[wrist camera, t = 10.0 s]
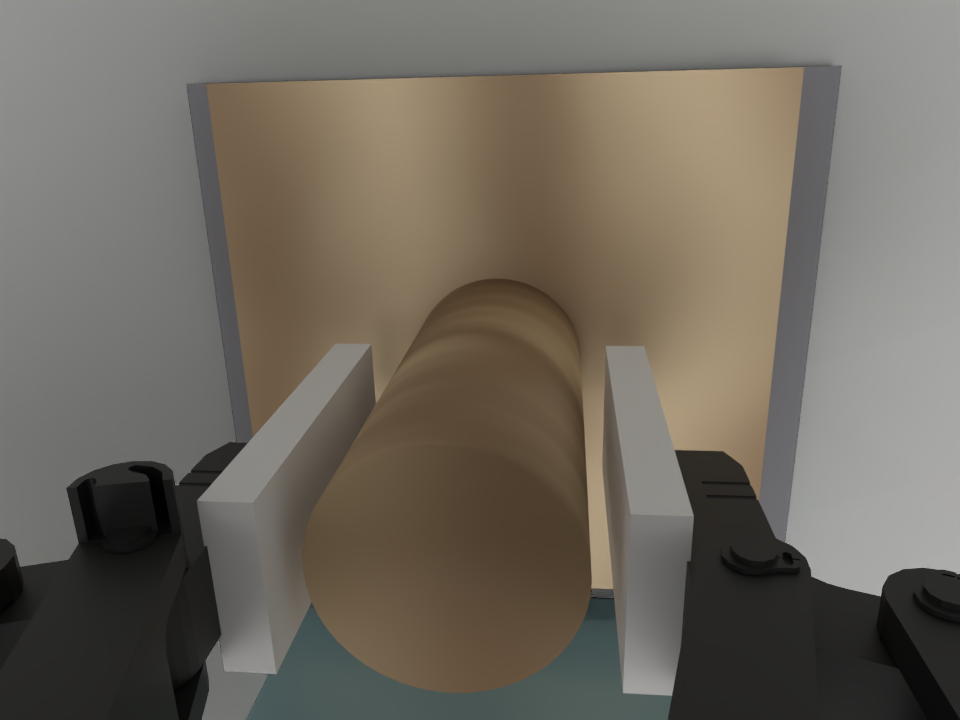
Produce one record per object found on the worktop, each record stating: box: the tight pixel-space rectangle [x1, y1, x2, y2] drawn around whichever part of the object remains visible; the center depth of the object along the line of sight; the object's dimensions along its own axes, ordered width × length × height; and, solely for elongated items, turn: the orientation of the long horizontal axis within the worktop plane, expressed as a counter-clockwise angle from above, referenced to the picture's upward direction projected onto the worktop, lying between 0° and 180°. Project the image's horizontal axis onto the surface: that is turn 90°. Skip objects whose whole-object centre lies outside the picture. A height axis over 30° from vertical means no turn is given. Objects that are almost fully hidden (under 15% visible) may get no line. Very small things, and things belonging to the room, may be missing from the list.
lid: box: [206, 67, 804, 693], centre depth 15 cm, size 13×13×10 cm
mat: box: [186, 66, 842, 543], centre depth 20 cm, size 15×13×1 cm
